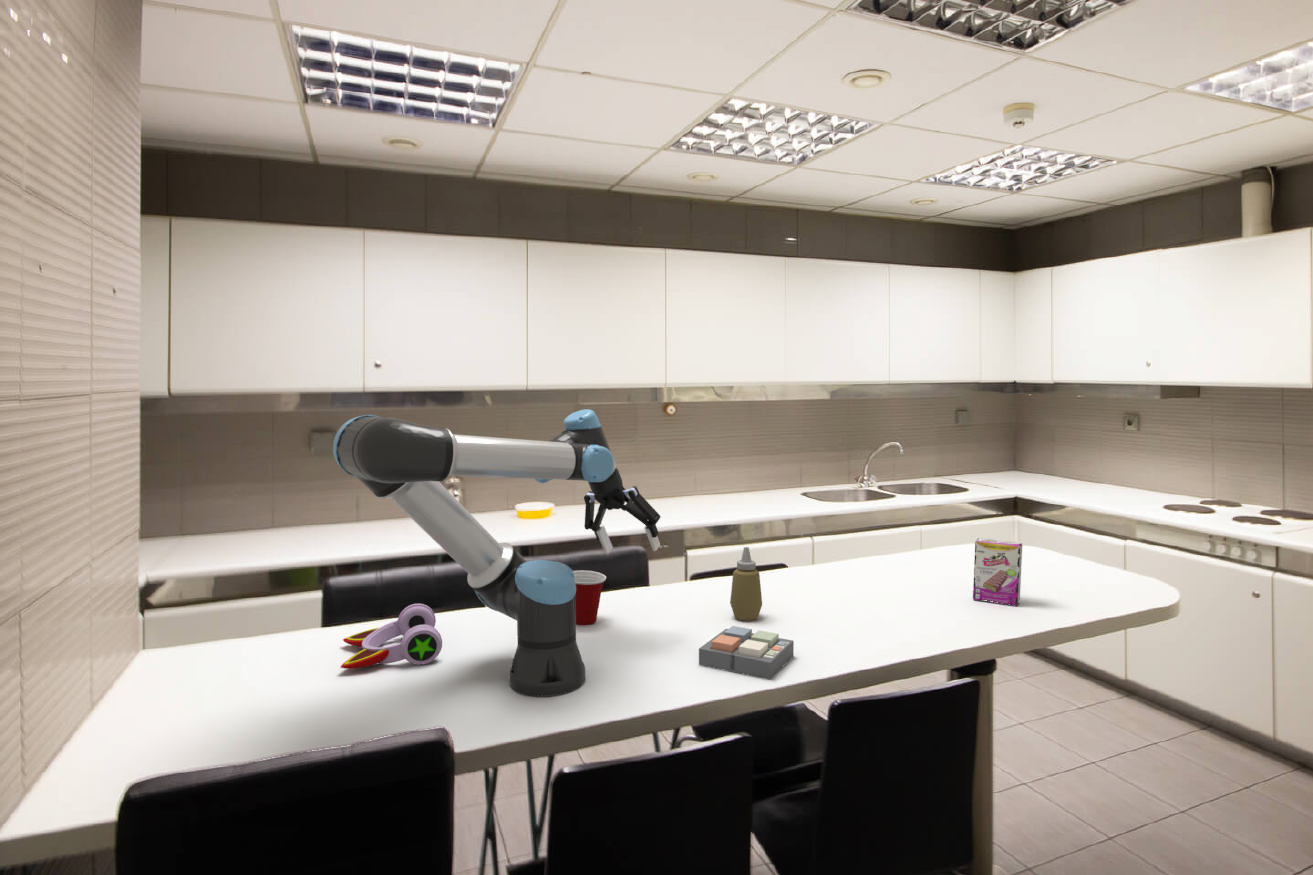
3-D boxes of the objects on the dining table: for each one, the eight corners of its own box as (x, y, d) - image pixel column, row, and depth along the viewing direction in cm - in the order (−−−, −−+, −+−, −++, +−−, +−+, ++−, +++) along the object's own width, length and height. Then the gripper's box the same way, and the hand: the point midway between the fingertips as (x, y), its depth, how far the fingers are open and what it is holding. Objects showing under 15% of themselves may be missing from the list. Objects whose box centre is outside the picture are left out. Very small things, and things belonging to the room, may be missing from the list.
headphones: (444, 627, 157) (343, 628, 149) (440, 672, 157) (339, 675, 150) (436, 601, 175) (346, 601, 168) (432, 642, 175) (342, 643, 168)
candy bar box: (972, 600, 197) (974, 540, 196) (975, 596, 202) (977, 537, 200) (1018, 607, 191) (1020, 545, 190) (1020, 602, 196) (1022, 542, 194)
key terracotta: (731, 658, 153) (731, 644, 152) (711, 655, 155) (711, 641, 155) (740, 651, 157) (740, 638, 156) (720, 647, 159) (720, 634, 159)
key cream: (759, 664, 150) (759, 650, 149) (738, 660, 152) (738, 646, 152) (767, 657, 154) (767, 643, 153) (747, 653, 156) (747, 639, 156)
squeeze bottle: (754, 625, 180) (754, 552, 178) (724, 619, 184) (724, 549, 182) (767, 615, 186) (767, 546, 185) (738, 610, 191) (738, 542, 189)
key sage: (770, 654, 155) (770, 640, 155) (750, 650, 157) (750, 636, 157) (778, 647, 159) (778, 633, 159) (758, 643, 161) (758, 630, 161)
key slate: (743, 649, 158) (743, 635, 158) (724, 645, 161) (724, 631, 160) (751, 642, 162) (751, 629, 162) (732, 638, 165) (732, 625, 164)
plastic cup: (600, 630, 176) (599, 581, 175) (557, 627, 179) (556, 579, 178) (612, 616, 187) (611, 570, 186) (571, 613, 189) (570, 568, 188)
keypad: (770, 679, 147) (770, 660, 147) (698, 664, 155) (698, 646, 155) (793, 656, 159) (793, 638, 159) (726, 643, 167) (726, 626, 167)
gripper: (654, 459, 166) (683, 537, 174) (566, 471, 179) (597, 543, 186) (641, 475, 160) (671, 555, 168) (551, 486, 173) (583, 560, 180)
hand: (632, 549), depth 177 cm, fingers open, 13 cm apart
